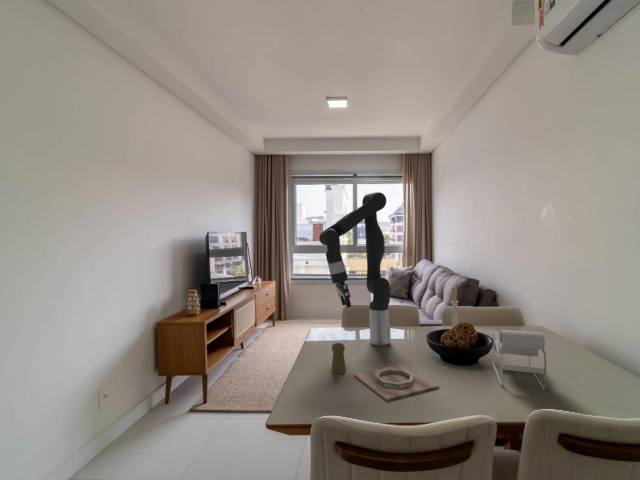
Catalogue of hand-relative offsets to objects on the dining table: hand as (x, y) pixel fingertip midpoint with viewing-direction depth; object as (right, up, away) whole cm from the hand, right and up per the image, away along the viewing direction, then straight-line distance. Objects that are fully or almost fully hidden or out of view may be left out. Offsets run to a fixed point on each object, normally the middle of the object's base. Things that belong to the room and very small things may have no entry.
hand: (346, 306), depth 154 cm
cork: (-5, -23, -19) cm, 30 cm away
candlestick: (+50, -21, +1) cm, 55 cm away
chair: (+62, -21, -27) cm, 71 cm away
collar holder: (+15, -22, -30) cm, 40 cm away
